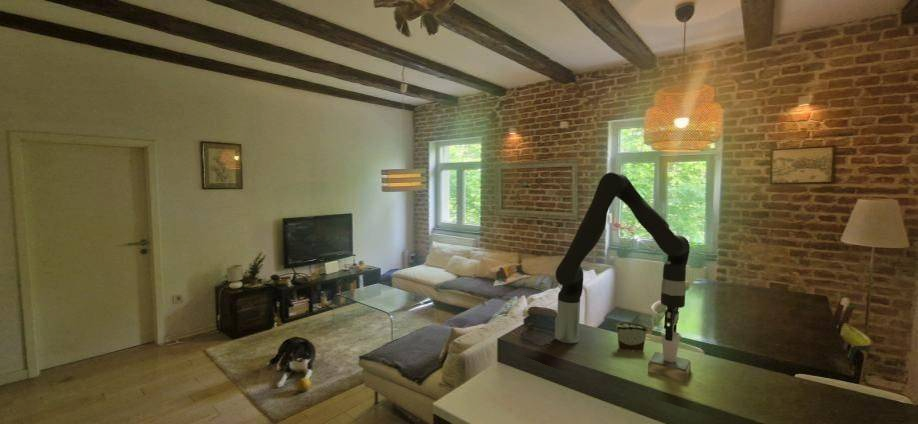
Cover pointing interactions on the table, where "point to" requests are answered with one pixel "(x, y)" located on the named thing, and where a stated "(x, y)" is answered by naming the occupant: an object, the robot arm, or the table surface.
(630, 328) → the food container
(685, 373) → the oak plinth
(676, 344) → the smoothie
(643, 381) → the table surface
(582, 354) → the table surface
